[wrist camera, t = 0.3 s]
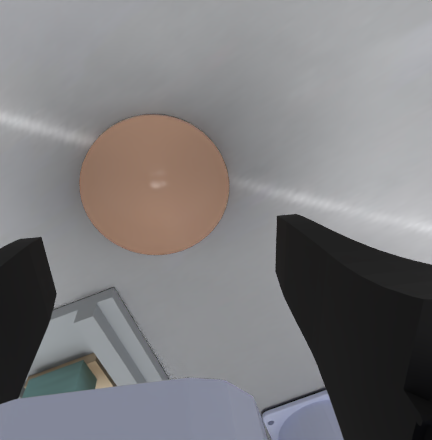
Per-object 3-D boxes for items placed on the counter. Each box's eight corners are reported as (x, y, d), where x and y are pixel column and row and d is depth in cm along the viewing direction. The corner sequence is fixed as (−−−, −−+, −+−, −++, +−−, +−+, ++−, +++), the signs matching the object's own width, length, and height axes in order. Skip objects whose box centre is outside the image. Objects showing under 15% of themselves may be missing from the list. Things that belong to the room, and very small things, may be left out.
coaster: (245, 222, 23) (247, 225, 22) (121, 269, 23) (120, 273, 23) (198, 90, 19) (198, 91, 19) (52, 147, 20) (50, 150, 19)
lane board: (220, 466, 32) (224, 494, 30) (111, 504, 33) (108, 534, 31) (113, 287, 24) (109, 310, 22) (-34, 342, 24) (-51, 369, 22)
